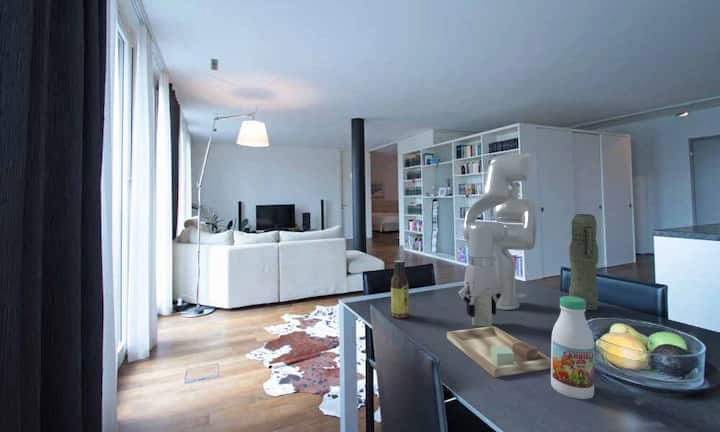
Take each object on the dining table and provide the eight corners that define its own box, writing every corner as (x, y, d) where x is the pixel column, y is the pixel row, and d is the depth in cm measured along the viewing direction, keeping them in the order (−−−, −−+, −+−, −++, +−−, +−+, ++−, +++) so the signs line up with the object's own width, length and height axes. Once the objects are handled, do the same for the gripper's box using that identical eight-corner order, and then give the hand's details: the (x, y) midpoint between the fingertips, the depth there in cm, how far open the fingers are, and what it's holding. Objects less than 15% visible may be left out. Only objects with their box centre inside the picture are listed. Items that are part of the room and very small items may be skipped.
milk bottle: (543, 382, 72) (543, 294, 72) (575, 379, 73) (576, 292, 72) (568, 403, 65) (568, 305, 64) (603, 400, 65) (605, 303, 65)
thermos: (587, 302, 127) (588, 213, 125) (605, 312, 115) (606, 214, 113) (562, 301, 128) (563, 213, 126) (578, 312, 116) (579, 215, 115)
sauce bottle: (408, 319, 112) (407, 263, 111) (390, 318, 113) (389, 262, 113) (409, 313, 119) (408, 259, 118) (392, 312, 120) (391, 259, 119)
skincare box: (491, 322, 108) (491, 286, 107) (492, 327, 104) (492, 290, 103) (471, 320, 110) (471, 285, 109) (471, 325, 106) (471, 289, 105)
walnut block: (523, 356, 83) (523, 341, 83) (537, 363, 79) (537, 348, 79) (512, 360, 81) (512, 344, 81) (526, 367, 78) (526, 351, 77)
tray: (494, 333, 99) (494, 325, 99) (553, 369, 77) (553, 359, 77) (447, 340, 95) (446, 331, 95) (494, 379, 74) (494, 369, 74)
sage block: (506, 361, 81) (506, 345, 80) (514, 369, 77) (514, 353, 76) (490, 361, 81) (490, 346, 81) (497, 370, 77) (497, 353, 77)
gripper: (497, 257, 112) (497, 308, 112) (451, 261, 107) (451, 313, 108) (512, 261, 104) (512, 315, 105) (463, 265, 100) (464, 321, 101)
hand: (481, 314), depth 107 cm, fingers closed on skincare box, 7 cm apart
